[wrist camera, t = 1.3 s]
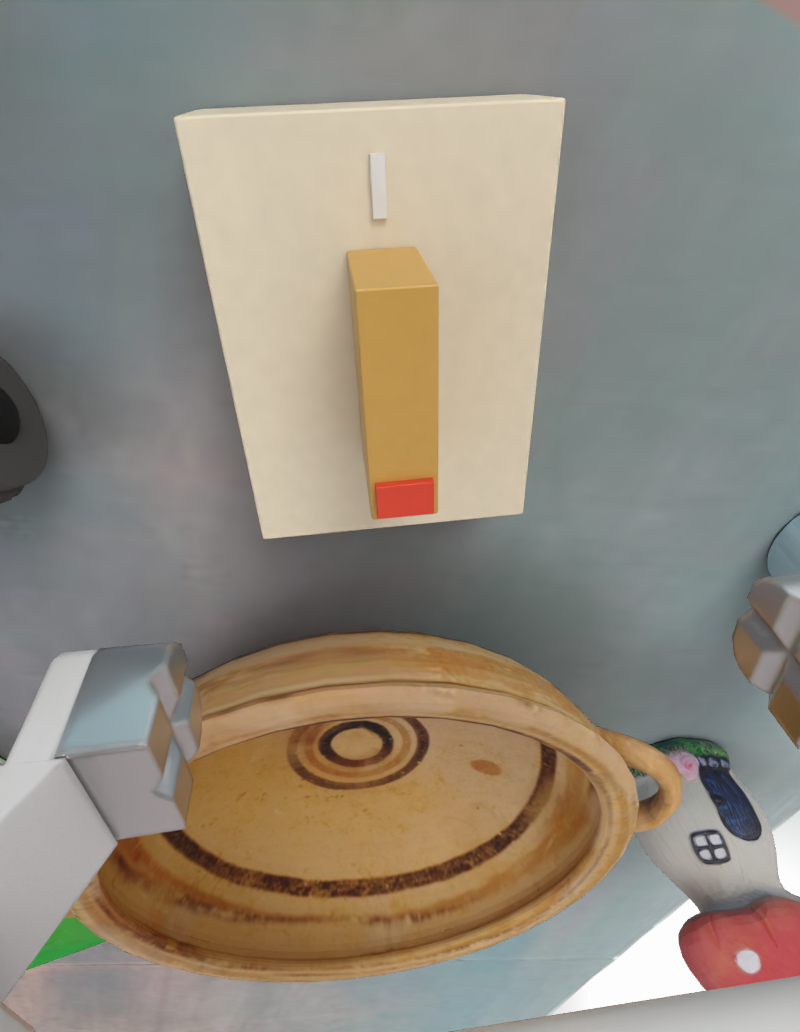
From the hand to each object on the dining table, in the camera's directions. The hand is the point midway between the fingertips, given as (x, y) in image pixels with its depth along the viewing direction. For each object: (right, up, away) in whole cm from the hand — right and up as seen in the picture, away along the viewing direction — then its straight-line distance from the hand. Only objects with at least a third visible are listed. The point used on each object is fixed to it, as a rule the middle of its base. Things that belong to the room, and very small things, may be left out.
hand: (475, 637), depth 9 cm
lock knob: (-1, +6, +9) cm, 11 cm away
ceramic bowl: (-4, -9, +24) cm, 26 cm away
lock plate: (-2, +8, +11) cm, 14 cm away
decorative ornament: (+17, -14, +31) cm, 38 cm away
